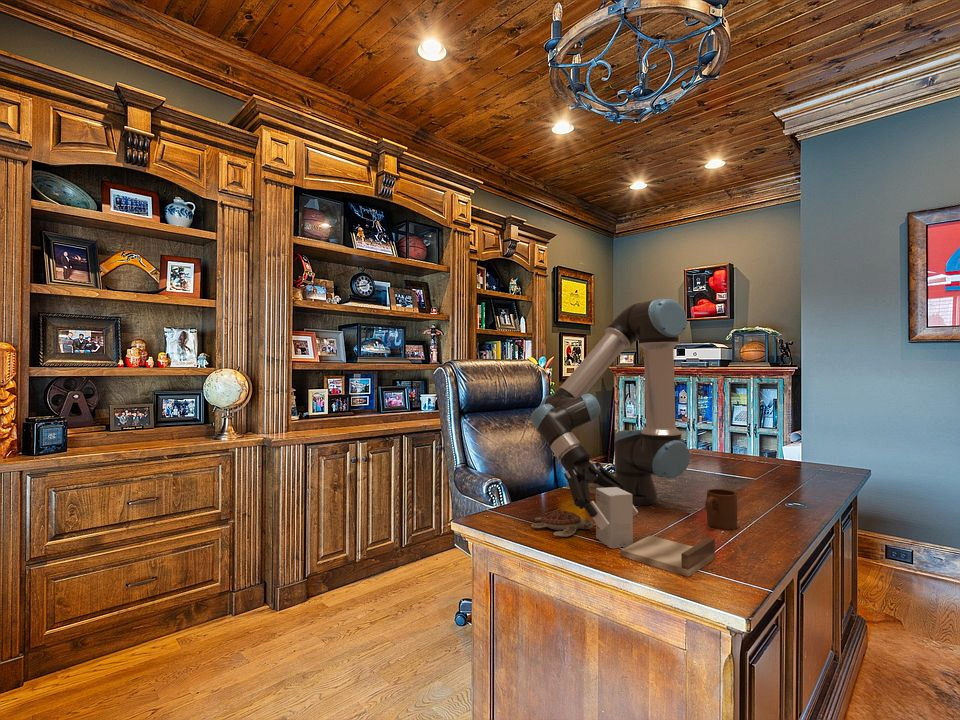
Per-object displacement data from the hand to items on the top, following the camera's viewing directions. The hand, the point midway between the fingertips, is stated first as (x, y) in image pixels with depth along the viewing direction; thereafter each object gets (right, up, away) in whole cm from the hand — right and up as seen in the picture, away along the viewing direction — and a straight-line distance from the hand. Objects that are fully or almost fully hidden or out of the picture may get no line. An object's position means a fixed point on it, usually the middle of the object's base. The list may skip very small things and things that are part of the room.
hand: (620, 521), depth 124 cm
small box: (-1, -6, +2) cm, 6 cm away
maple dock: (+8, -6, -9) cm, 13 cm away
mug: (+30, -6, +12) cm, 33 cm away
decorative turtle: (-12, -7, +13) cm, 19 cm away
